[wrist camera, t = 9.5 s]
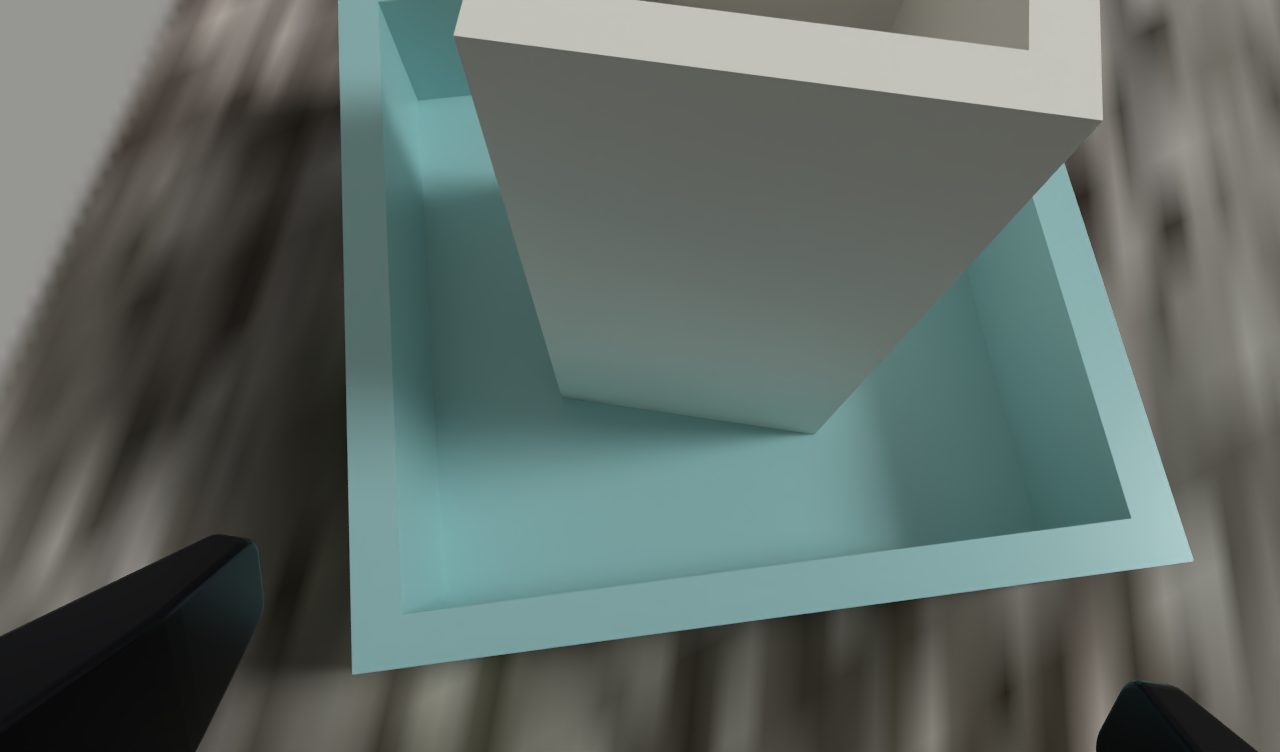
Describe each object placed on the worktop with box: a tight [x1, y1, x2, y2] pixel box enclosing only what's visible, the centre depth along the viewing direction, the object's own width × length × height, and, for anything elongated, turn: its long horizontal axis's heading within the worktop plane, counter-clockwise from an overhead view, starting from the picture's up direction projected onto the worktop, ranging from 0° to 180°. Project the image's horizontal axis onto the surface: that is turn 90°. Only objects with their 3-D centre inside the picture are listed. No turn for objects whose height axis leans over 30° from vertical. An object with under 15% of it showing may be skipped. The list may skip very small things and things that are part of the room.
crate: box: [338, 0, 1194, 675], centre depth 17 cm, size 14×14×4 cm
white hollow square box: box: [453, 0, 1103, 434], centre depth 13 cm, size 5×5×11 cm
